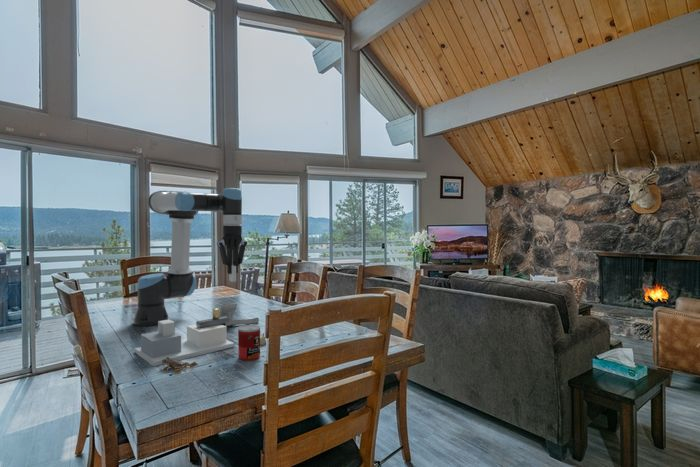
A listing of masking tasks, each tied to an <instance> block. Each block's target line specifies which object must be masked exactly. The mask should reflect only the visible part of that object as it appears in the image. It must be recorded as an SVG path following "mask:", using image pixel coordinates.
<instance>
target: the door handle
mask: <svg viewBox="0 0 700 467" xmlns="http://www.w3.org/2000/svg"><path fill="white" fill-rule="evenodd" d="M237 306H238V305H237V303H231V304H223V305H221V307H220V308H219V317H224V316H227V317H229V322H228V323H224V324H225V325H224V326H227V328H228V327H233V326H236V325H238V326H239V325H252V324H251V323H255V324H259V322H260V320H259V317H255V318H246V319H245V318H243V319H233V317H234V314H235V312H236V310H237Z"/></svg>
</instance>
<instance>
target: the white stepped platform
mask: <svg viewBox="0 0 700 467" xmlns="http://www.w3.org/2000/svg"><path fill="white" fill-rule="evenodd" d="M227 328H228V327H227V326H225V325H223V324H217V325H212V326H207V327H201V328H199V327H197V326H196V324H190V325H187V326H186V337H185V338H182V335H181V334H179V333H177V332H176V321H174V320H171V319H168V320H163V321H158V325H157V331H156V330H155V331H152V332H146V333H141V334H140V347H135V348H134V353H135V354H136V355H138V356H139V357H140V358H142V359H143V360H144V361H145V362H147V363H148V364H150V366H152V367H156V366H159V365H160V366H161V365H163V364H162V363H163V362H162V360H163V359H166V358H167V357H169V359H177V360H178V361H181V360H184V359H190V358H192V357H197V356H201V355H206V354H210V353H214V352H219V351H223V350H228V349H230V348H234V347H235V343H234V342H232V341H230V340H228V339H227V337H228V335H227V334H228V333H227V330H228V329H227Z"/></svg>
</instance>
